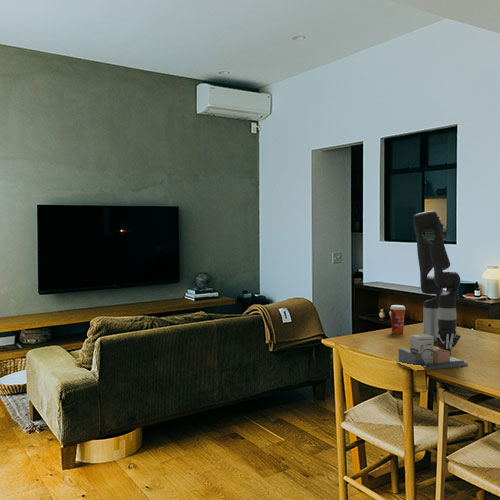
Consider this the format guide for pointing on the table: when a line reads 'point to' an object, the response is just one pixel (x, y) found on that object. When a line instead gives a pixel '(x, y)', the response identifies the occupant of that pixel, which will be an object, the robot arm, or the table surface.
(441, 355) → the pink rectangular block
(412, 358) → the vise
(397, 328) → the coffee cup
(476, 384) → the table surface
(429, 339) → the ink box
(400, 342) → the table surface
